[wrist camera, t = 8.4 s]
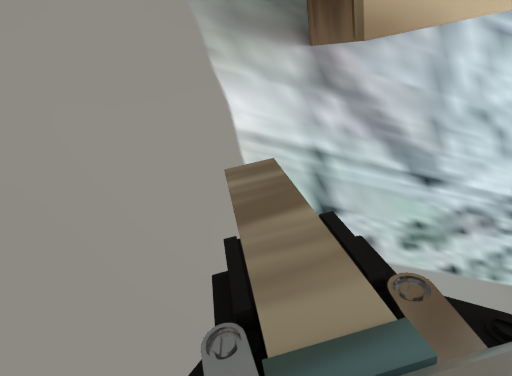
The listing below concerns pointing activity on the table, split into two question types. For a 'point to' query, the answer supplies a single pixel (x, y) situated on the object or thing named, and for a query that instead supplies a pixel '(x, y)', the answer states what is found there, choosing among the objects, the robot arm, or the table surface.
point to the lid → (416, 14)
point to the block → (313, 288)
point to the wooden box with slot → (331, 21)
